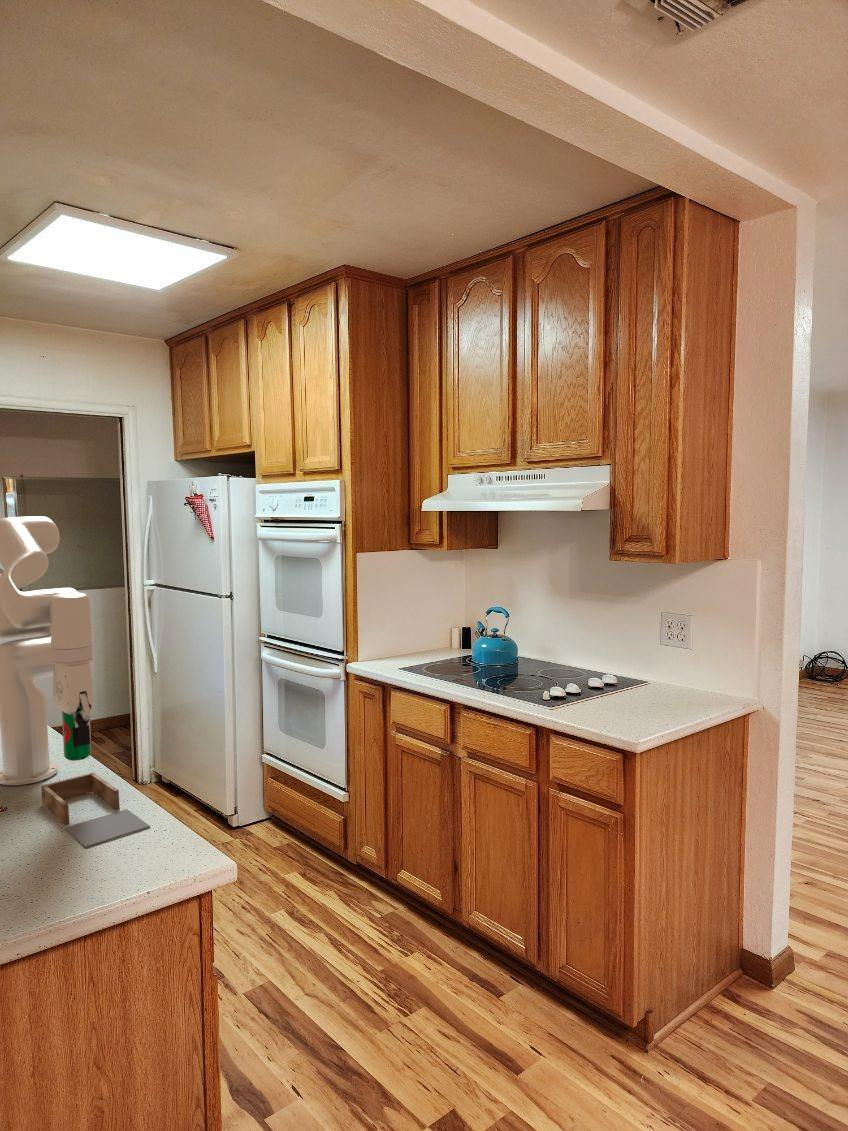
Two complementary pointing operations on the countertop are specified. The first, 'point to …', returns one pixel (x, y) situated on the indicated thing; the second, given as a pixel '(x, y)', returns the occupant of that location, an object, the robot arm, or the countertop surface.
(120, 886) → the countertop surface
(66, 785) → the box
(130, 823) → the mat
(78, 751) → the soda can
